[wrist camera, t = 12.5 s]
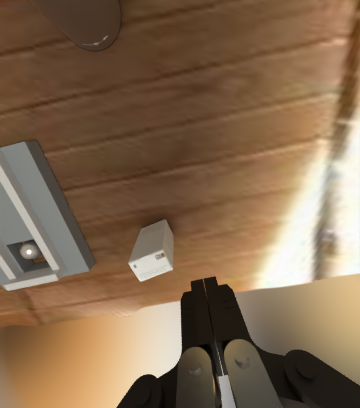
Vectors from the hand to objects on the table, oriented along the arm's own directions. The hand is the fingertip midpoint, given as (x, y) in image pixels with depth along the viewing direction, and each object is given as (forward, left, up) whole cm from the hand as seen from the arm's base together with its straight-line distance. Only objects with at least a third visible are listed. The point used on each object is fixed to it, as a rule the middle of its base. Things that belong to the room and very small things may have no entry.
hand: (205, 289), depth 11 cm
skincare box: (+9, -8, -27) cm, 30 cm away
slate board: (0, -34, -27) cm, 43 cm away
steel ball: (+6, -34, -25) cm, 43 cm away
